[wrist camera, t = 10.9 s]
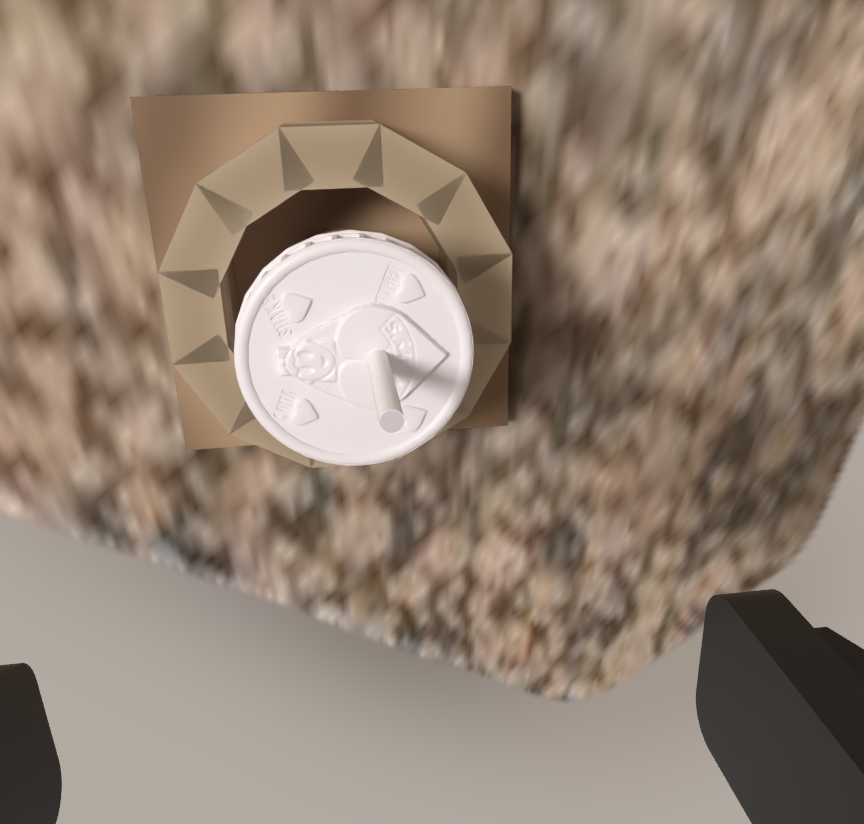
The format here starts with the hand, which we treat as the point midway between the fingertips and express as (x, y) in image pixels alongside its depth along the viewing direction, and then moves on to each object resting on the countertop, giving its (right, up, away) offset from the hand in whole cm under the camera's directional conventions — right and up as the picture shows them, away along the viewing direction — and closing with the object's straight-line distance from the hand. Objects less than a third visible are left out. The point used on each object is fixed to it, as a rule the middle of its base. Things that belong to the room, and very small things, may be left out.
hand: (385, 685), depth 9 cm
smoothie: (-3, +8, +20) cm, 22 cm away
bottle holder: (-3, +9, +21) cm, 23 cm away
